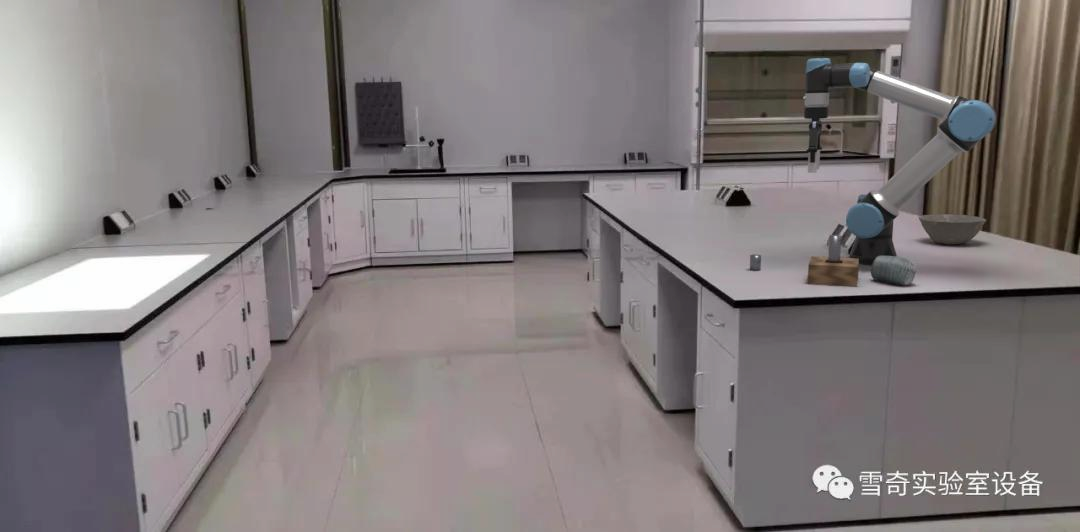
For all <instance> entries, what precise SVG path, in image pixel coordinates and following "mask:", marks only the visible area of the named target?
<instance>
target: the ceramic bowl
mask: <svg viewBox="0 0 1080 532" xmlns="http://www.w3.org/2000/svg"><path fill="white" fill-rule="evenodd" d="M918 219H919V221H920V223H921V226H922V228H923V229H924V231H925V232H926V234H927V235H928V237H929V238H930V239H931V240H932V241H933V242H935V243H938V244H944V245H961V244H962V245H963V244H966V243H967V242H970V241H972V239H974V238H975V237H976V236H977V235H978V234H979V233H980V231H981V229H982V228H983V226H984V224H985V223H986V222H987V219H986V218H983V217H979V216H973V215H968V214H967V215H966V214H951V213H949V214H942V213H940V214H923V215H919V216H918Z"/></svg>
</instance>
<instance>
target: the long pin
mask: <svg viewBox="0 0 1080 532" xmlns="http://www.w3.org/2000/svg"><path fill="white" fill-rule="evenodd" d="M841 246H842V236H841V235H839V234H832V235H829V237H828V255H827V257H828V263H840V258H841V249H842V247H841Z"/></svg>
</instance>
